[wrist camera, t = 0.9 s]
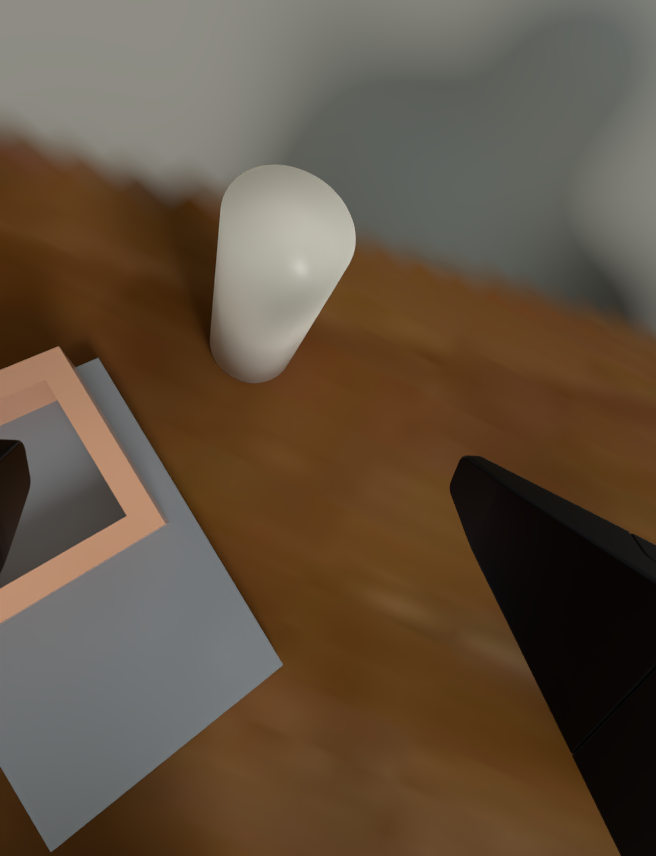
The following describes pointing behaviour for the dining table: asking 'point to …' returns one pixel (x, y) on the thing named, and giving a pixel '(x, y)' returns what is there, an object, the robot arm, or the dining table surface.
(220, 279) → the candle
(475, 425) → the dining table surface
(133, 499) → the candle stand
